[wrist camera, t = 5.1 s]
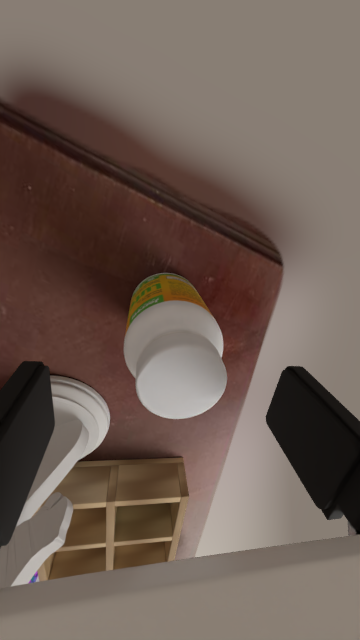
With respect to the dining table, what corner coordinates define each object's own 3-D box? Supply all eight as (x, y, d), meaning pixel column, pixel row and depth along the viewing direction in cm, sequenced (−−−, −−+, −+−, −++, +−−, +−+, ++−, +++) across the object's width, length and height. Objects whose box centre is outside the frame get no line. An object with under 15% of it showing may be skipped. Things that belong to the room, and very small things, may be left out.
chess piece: (126, 433, 24) (102, 719, 10) (37, 465, 24) (-99, 786, 11) (77, 359, 20) (-71, 678, 6) (-30, 399, 20) (-398, 790, 6)
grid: (183, 457, 27) (189, 496, 23) (168, 530, 33) (171, 570, 29) (41, 462, 24) (22, 508, 20) (53, 540, 30) (40, 586, 26)
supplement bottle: (152, 257, 17) (159, 304, 8) (211, 292, 19) (268, 362, 10) (118, 316, 19) (95, 409, 10) (175, 344, 20) (198, 443, 12)
